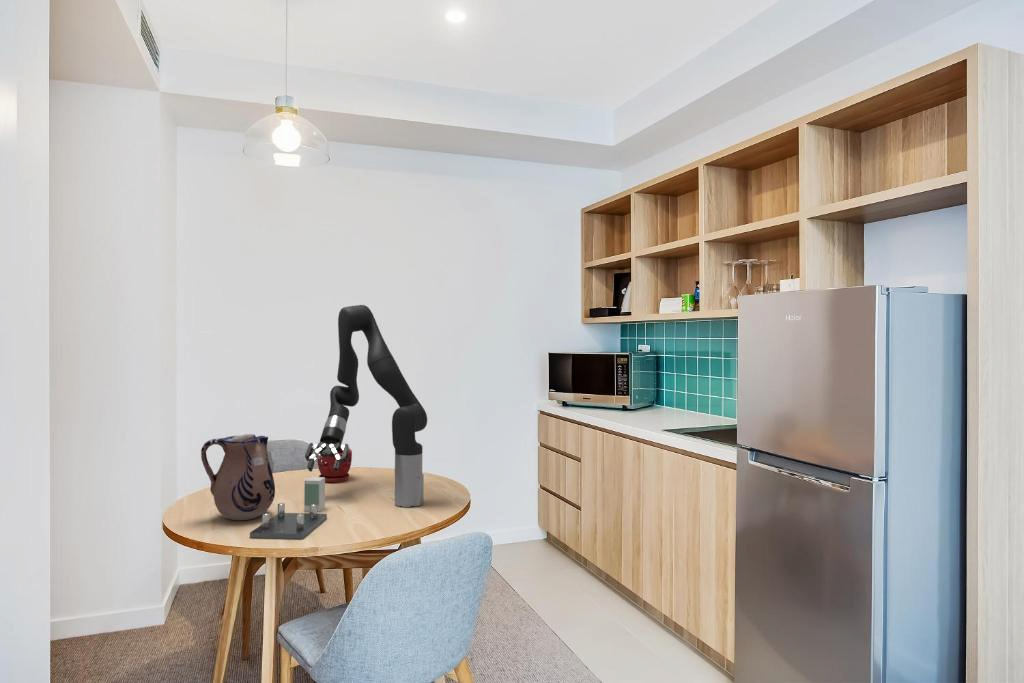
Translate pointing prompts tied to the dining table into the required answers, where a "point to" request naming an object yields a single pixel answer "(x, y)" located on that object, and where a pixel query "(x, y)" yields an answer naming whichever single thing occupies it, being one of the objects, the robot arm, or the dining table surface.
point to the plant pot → (328, 465)
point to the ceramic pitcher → (241, 477)
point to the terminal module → (314, 493)
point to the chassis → (288, 524)
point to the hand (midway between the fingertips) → (322, 470)
